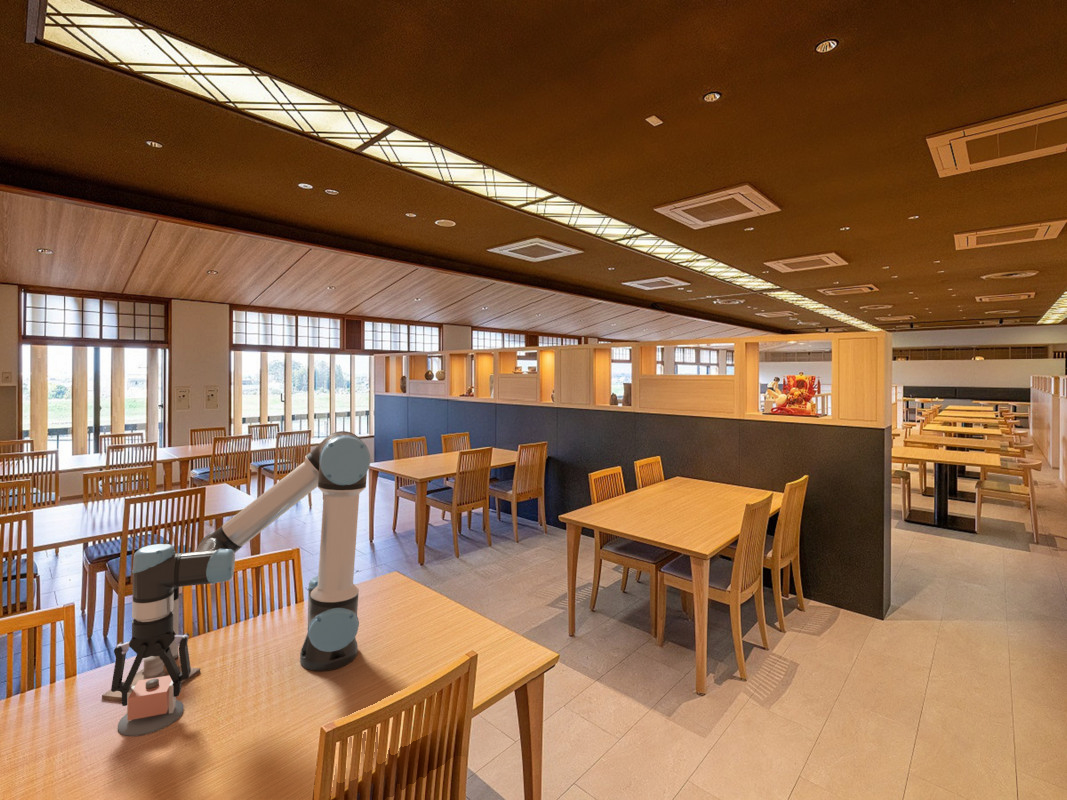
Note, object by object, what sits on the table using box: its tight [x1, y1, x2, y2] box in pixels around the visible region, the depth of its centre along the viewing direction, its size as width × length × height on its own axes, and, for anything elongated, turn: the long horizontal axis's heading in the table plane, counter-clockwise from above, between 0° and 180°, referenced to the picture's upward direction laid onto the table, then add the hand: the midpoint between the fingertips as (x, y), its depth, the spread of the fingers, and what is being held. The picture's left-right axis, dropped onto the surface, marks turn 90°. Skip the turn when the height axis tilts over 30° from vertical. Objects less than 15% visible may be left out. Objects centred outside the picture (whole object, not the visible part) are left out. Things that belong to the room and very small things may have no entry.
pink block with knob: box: [128, 675, 172, 720], centre depth 115 cm, size 7×7×6 cm
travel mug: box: [169, 587, 180, 660], centre depth 138 cm, size 6×7×20 cm
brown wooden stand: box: [101, 656, 201, 703], centre depth 127 cm, size 14×14×7 cm
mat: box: [117, 699, 185, 737], centre depth 115 cm, size 12×12×1 cm
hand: (151, 713), depth 115 cm, fingers closed on pink block with knob, 7 cm apart
